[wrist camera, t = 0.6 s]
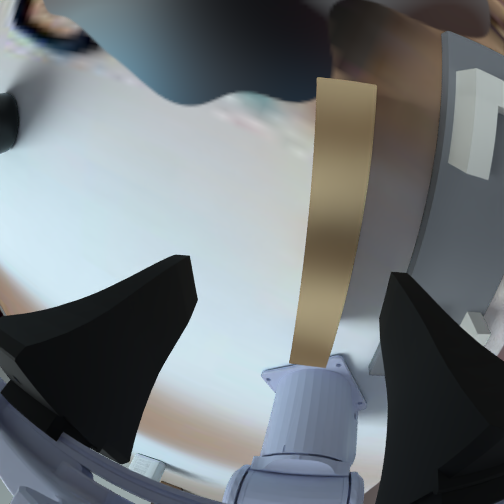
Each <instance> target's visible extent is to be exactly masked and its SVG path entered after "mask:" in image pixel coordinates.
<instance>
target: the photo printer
mask: <svg viewBox="0 0 504 504" xmlns="http://www.w3.org/2000/svg"><path fill="white" fill-rule="evenodd" d="M165 468H166V464H165V463H163V462H161V461H158V460H155V459H152V458H149V457H146V456H144V455H141V454H138V453H136V455H135V456H134V458H133V460H132V462H131V464H130V466H129V468H128V469H130V470H132V471H134V472H136V473H139V474H141V475H143V476H145V477H148V478H150V479H153V480H155V481H158V482H159V481H160V479H161V477H162V475H163V473H164V470H165Z"/></svg>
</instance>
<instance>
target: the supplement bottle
mask: <svg viewBox="0 0 504 504" xmlns="http://www.w3.org/2000/svg"><path fill="white" fill-rule="evenodd" d="M17 131H18V109H17V104H16V101H15V99H14V98H13V96H12V95H11V94H9V93H1V94H0V154H1V153H4V152H6V151H8V150H9V149H10V148H11V147H12V145H13V144H14V142H15V139H16V136H17Z"/></svg>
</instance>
